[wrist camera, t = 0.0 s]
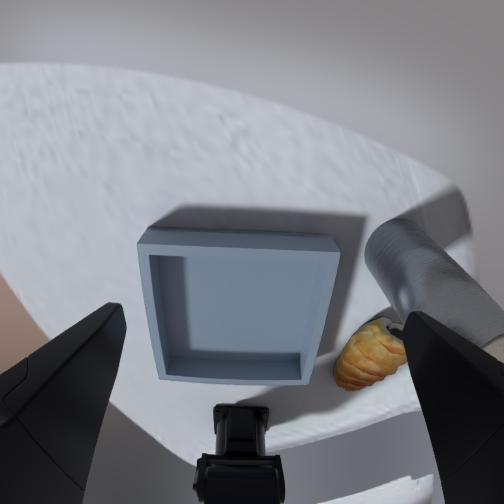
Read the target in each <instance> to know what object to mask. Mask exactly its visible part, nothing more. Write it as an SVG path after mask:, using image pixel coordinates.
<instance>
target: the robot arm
mask: <svg viewBox="0 0 504 504" xmlns="http://www.w3.org/2000/svg"><path fill="white" fill-rule="evenodd" d="M126 328H127V327H126V321H125V316H124V312H123V307H122V305H121V304H120V303H112V302H109V303H107V304H105V305H103V306H102V307H100V308H99V309H97V310H96V311H94V312H93V313H91V314H90V315H88V316H87V317H85V318H84V319H82V320H81V321H79V322H78V323H76V324H75V325H73V326H72V327H70V328H69V329H67V330H66V331H64V332H63V333H61V334H60V335H58V336H57V337H55V338H54V339H52V340H51V341H49V342H48V343H46V344H45V345H43V346H42V347H40V348H39V349H37V350H36V351H35V352H33V353H32V354H30V355H29V356H28V357H26V358H24V359H23V360H21V361H20V362H19V363H17V364H16V365H14V366H13V367H11V368H10V369H8V370H7V371H5V372H3V373H2V374H0V504H82V502H83V497H84V491H85V488H86V483H87V478H88V475H89V470H90V466H91V462H92V458H93V454H94V451H95V447H96V443H97V439H98V436H99V432H100V428H101V425H102V422H103V418H104V415H105V411H106V407H107V405H108V401H109V398H110V395H111V392H112V389H113V385H114V382H115V379H116V376H117V372H118V368H119V363H120V358H121V353H122V349H123V344H124V340H125V335H126ZM402 341H403V345H404V349H405V353H406V357H407V361H408V366H409V370H410V374H411V377H412V381H413V384H414V387H415V390H416V393H417V396H418V399H419V402H420V405H421V409H422V412H423V415H424V419H425V422H426V425H427V429H428V432H429V435H430V440H431V443H432V447H433V451H434V455H435V459H436V463H437V467H438V471H439V475H440V480H441V485H442V490H443V494H444V500H445V504H504V363H503V362H501V361H500V360H499V361H498V359H496V358H495V357H493V356H492V355H490V354H489V353H487V352H486V351H484V350H483V349H481V348H480V347H478V346H477V345H475V344H473V343H472V342H470V341H469V340H467V339H466V338H464V337H463V336H461V335H459V334H458V333H456V332H455V331H453V330H452V329H450V328H448V327H447V326H445V325H444V324H442V323H440V322H439V321H437V320H436V319H434V318H432V317H431V316H429V315H428V314H426V313H424V312H423V311H412V312H410V313H409V315H408V317H407V320H406V322H405V325H404V327H403V329H402ZM213 415H214V431H215V434H216V454H215V455H212V454H207V453H202V457H201V458H199V459H197V468H196V474H195V478H194V483H193V490H194V491H195V492H196V493H197V496H198V498H199V502H200V503H204V504H283V503H284V500H285V481H284V475H283V469H282V464H281V458H280V455H275V456H266V452H265V432H266V427H267V422H268V416H269V408H266V407H224V406H215V407H214V408H213Z"/></svg>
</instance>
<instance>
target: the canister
mask: <svg viewBox="0 0 504 504" xmlns="http://www.w3.org/2000/svg"><path fill="white" fill-rule="evenodd" d="M364 257H365V263H366V265H367V267H368V269H369V271H370V272H371V274H372V275H373V277H374V278H375V280H376V282H377V283H378V285H379V286H380V288H381V289H382V291H383V293H384V294H385V296H386V297H387V299H388V301H389V302H390V304H391V306H392V307H393V309H394V311H395V312H396V314H397V316H398V317H399V319H400V321H401V322H402V324H403V326H404V325H405V322H406V320H407V317H408V315H409V313H410V312H412V311H423V312H424V313H426V314H428V315H429V316H431V317H432V318H434V319H436V320H437V321H439V322H440V323H442V324H444V325H445V326H447V327H448V328H450V329H452V330H453V331H455V332H456V333H458V334H459V335H461V336H463V337H464V338H466V339H467V340H469V341H470V342H472V343H473V344H475V345H477V346H478V347H480V348H481V349H483V350H484V351H486V352H487V353H489V354H490V355H492V356H493V357H495V358H496V359H498V361H499V360H500V361H501V362H503V363H504V311H503V310H502V309H501V308H500V307H499V305H498V304H497V303H496V302H495V301H494V300H493V299H492V298H491V297H490V296H489V295H488V294H487V293H486V291H485V290H483V288H482V287H481V286H480V285H479V284H478V283H477V282H476V281H475V280H474V279H473V278H472V277H471V276H470V275H469V274H468V273H467V272H466V271H465V270H464V269H463V268H462V267H461V266H460V265H459V264H458V263H457V262H456V261H455V260H454V259H453V258H451V257H450V256H449V255H448V254H447V253H446V252H445V251H444V250H443V249H442V248H441V247H440V246H439V245H437V244H436V243H435V242H434V241H433V240H432V239H431V238H430V237H429V236H427V235H426V234H425V233H424V232H423V231H422V230H421V229H420V228H418V227H417V226H416V225H415V224H414V223H412V222H411V221H409V220H406V219H393V220H390V221H387V222H385V223H384V224H382V225H381V226H379V227H378V228H377V229H376V230H375V231H374V232H373V233H372V235H371V236H370V238H369V240H368V242H367V244H366V247H365V255H364Z"/></svg>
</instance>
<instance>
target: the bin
mask: <svg viewBox="0 0 504 504" xmlns="http://www.w3.org/2000/svg"><path fill="white" fill-rule="evenodd" d="M137 251H138V260H139V268H140V275H141V283H142V290H143V296H144V303H145V309H146V315H147V321H148V327H149V332H150V338H151V343H152V348H153V353H154V358H155V363H156V367H157V372H158V377H159V379H160V380H170V381H181V382H193V383H207V384H226V385H264V386H280V385H308V384H309V380H310V377H311V373H312V370H313V366H314V363H315V359H316V356H317V352H318V348H319V344H320V341H321V337H322V333H323V329H324V325H325V321H326V317H327V313H328V309H329V304H330V300H331V296H332V291H333V287H334V282H335V278H336V273H337V269H338V264H339V259H340V254H341V252H340V250H339V249H338V247H337V245H336V243H335V242H334V240H333V238H332V237H331V235H324V234H306V233H287V232H267V231H245V230H222V229H196V228H167V227H148V228H147V230H146V231H145V232H144V234H143V235H142V237H141V238H140V240H139V241H138V243H137Z"/></svg>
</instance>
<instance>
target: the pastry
mask: <svg viewBox="0 0 504 504" xmlns="http://www.w3.org/2000/svg"><path fill="white" fill-rule="evenodd" d="M403 327H404V326H403V325H402V324H398V323H392V321H391V320H390V319H388V318H385V317H383V318H379V319H376V320H374V321H370V322H368V323H366V324H364V325H363V326H361V327H360V328H359V330H358V331H357V332H356V334H355V335H353V336H351V338H350V340H349V341H348V342H347V344H346V346H345V348H344V349H343V351H342V353H341V355H340V357H339V358H338V360H337V362H336V364H335V367H334V379H335V381H336V383H337V385H338V386H339V387H342V388H344V389H345V390H347V391H355V390H360V389H362V388H364V387H366V386H371V385H373V384H374V383H375V382H377V381H382V380H384V378H385V377H386V376H387V375H392V374H394V373H396V371H397V367H398V366H400V365H402V364H405V363H406V362H407V357H406V353H405V349H404V345H403V341H402V329H403Z"/></svg>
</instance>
